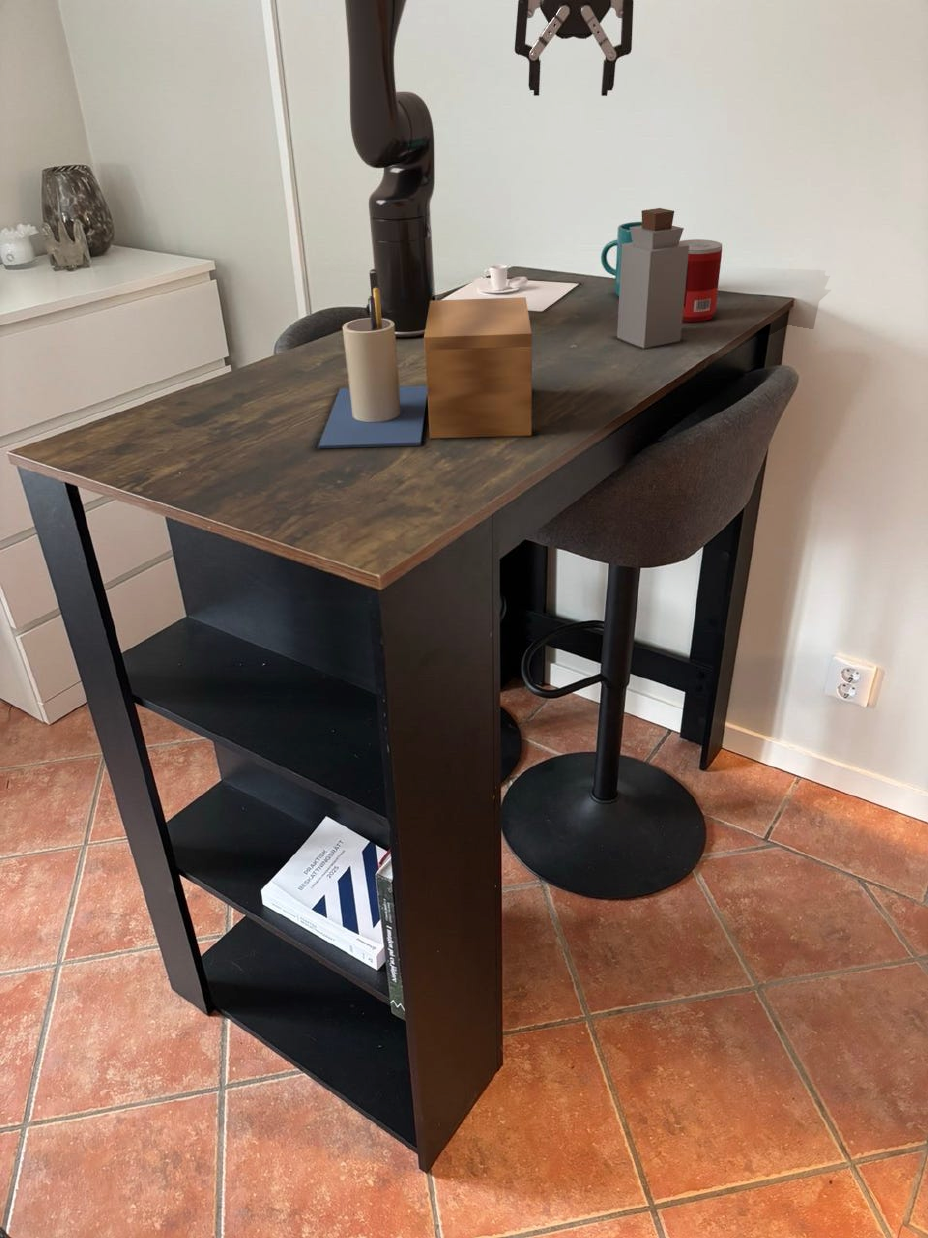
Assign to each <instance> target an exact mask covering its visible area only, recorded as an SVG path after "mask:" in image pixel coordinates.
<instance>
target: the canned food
mask: <svg viewBox="0 0 928 1238" xmlns="http://www.w3.org/2000/svg"><path fill="white" fill-rule="evenodd" d="M679 243H682V244H686V245H689V254H688V265H687V276H686V287H685V297H684V308H683V319H682V323H683V322H684V323H700V322H705V321H709V320H711V319H712V318H714V315H715V313H716V311H717V309H716V308H717V302H718V301H717V300H718V294H719V293H718V291H719V283H720V274H721V266H722V256H723V243H721V242H720V241H718V240H712V239H699V238H698V239H697V238H695V239H693V238H692V239H684V240H680V241H679Z"/></svg>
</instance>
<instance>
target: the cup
mask: <svg viewBox="0 0 928 1238" xmlns="http://www.w3.org/2000/svg"><path fill="white" fill-rule="evenodd" d="M635 226H642V221H632V222H626V223H622V224H619V225H618V227H617V235H616V236H617V237H616V239H613V240H611V241H609V242H608V243H607V244H605V246H603V249H602V251H601V254H600V261H601V264H602V267H603V269H604V270H605V271H606V272H607V273H608V274H609V275H612V276H614V293H615V295H616V296H617V297H619V291H620V273H621V255H622V244H624V243H631V242H633V241H632V236H631V231H630V227H635ZM613 247H616V256H615V268H613V267H612V266H611V265H610V263H609V262H608V253H609V251H610V250H611V249H612V248H613Z"/></svg>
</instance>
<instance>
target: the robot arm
mask: <svg viewBox="0 0 928 1238" xmlns="http://www.w3.org/2000/svg"><path fill="white" fill-rule="evenodd" d="M407 2H408V1H407V0H344V5H345V6H344V7H345V21H346V33H347V44H348V45H347V46H348V68H349V69H348V70H349V72H348V73H349V77H348V78H349V79H348V80H349V123H350V124H349V125H350V133H351V139H352V143H353V145H354V148H355V150H356V153H357V155H358V156H359V158H360V159H361V160H362V162H363V163H365V164H366V165H367V166H369V168H373V169H383V173H382V178H381V180H380V183H379V185H378V186H377V188H376V189H375V190H374V191H373V192H372V193H371V194H370V195H369V198H368V211H369V212H368V213H369V223H370V234H371V245H372V246H371V247H372V255H373V256H372V257H373V268H372V269H370V270H369V283H370V294H371V295H370V296H373V289H374V288H378V289H379V296H380V308H381V319H387V320H391V321H393V322H394V325H395V337H396V338H415V337H421V336H424V335H425V329H426V323H427V317H428V312H429V306H430V301H434V300H436V287H435V285H436V284H435V268H434V267H435V266H434V249H433V235H432V234H433V233H432V213H431V203H432V198H433V196H434V191H435V183H436V182H435V180H436V175H435V172H436V171H435V170H436V169H435V165H436V164H435V163H436V162H435V161H436V160H435V156H436V155H435V130H434V124H433V123H434V122H433V118H432V114H431V112H430V109H429V107H428V105H427V103H426V102H425V100H424V99H423V98H422V97H421V96H419V94H417V93H415V92H412V91H397V87H396V74H395V73H396V72H395V53H396V52H395V51H396V50H395V48H396V43H397V38H398V33H399V31H400V29H399V28H400V25H401V23H402V19H403V16H404V12H405V9H406V5H407ZM634 3H635V2H634V0H518V1H517V13H516V27H515V39H514V52H515V54H516V55H519V56H522V57H524V58H526V59H527V61H528V89H529V91H533V96H534V97H540V87H541V85H540V84H541V64H542V63H541V59H540V56H541V54H542V53H543V52H544V50H545V49H546V47H547V46H548V45H549V43H550V42H551V40H552V39H553V38H554V36H556V37H557V38H560V39H561V40H566V39H570V38H575V39H579V40H587V39H588V38H590V37H591V36H593V37H594V38H595V40H596V42H597V44H598V45H599V47H600V49H601V50H602V52H603V54H604V56H605V57H604V58H605V59H603V64H602V77H601V79H602V80H601V91H600V92H601V93H600V95H601V96H602V97H608V94H609V93H608V92H609V91H612V90H613V88H614V85H615V75H616V74H615V73H616V63H617V61H618V59H620V58H622V57H625V56H629V55H630V54H631V53H632V51H633V27H634ZM539 8H540V11H541V13H542V14H543V16H544V18H545V20H546V21H547V24H546V26H545V28H543V31H542V32H541V33H540V35H539V36H538V38H537V39H536V40H535V42H534V44H533V45H530V44H528V43H526V38H527V27H528V19H531V18H533V17H534V15H535V12H536V10H537V9H539ZM611 8H612V9H614V11H615V12H614V13H615V16H616V17H617V18H618V19H621V25H620V26H621V27H620V43H619V44H617V45H614V46H613V44H612V43H611V41H610V39H609V37H608V36H607V34H606V32H605V30H604V28H603V26H602V25H601V23H602V22H603V20H604V19H605V18H606V16H607V14H608V13H609V11H610V10H611ZM373 297H374V296H373ZM367 302H368V303H367V305H366V307H365V312H366V314H367V316H368V318H370V308H369V298H368V299H367Z"/></svg>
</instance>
